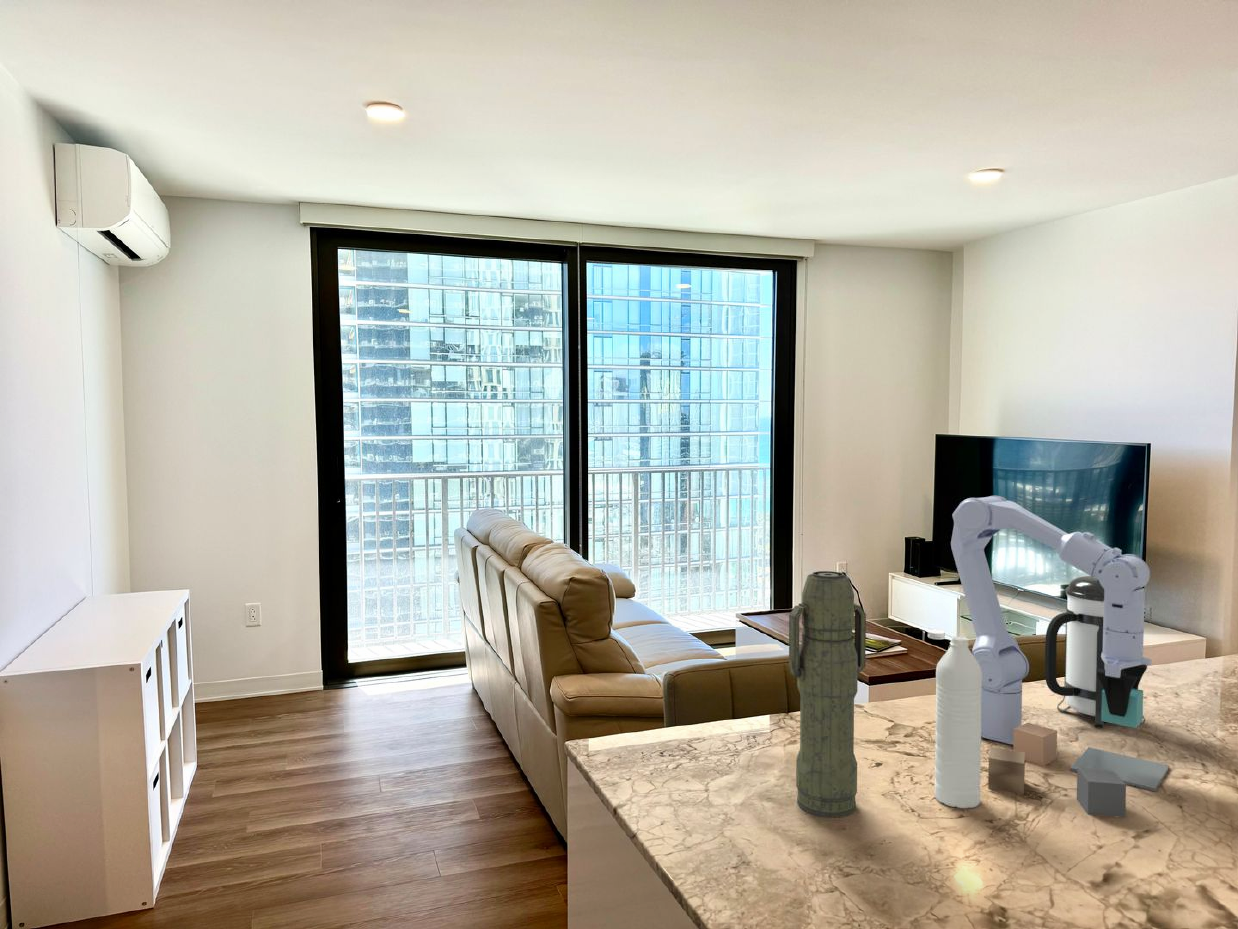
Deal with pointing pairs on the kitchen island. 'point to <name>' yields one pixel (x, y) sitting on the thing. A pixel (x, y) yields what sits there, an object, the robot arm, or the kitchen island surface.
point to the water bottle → (957, 725)
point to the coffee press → (1079, 648)
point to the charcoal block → (1101, 792)
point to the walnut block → (1006, 770)
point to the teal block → (1133, 710)
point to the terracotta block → (1036, 743)
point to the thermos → (827, 692)
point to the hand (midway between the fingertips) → (1121, 710)
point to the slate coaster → (1124, 767)
